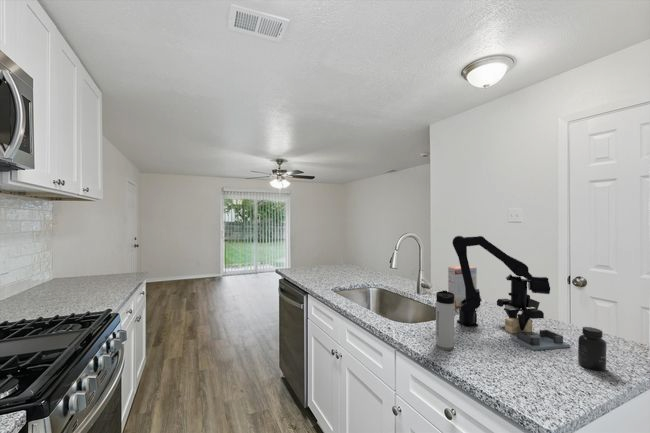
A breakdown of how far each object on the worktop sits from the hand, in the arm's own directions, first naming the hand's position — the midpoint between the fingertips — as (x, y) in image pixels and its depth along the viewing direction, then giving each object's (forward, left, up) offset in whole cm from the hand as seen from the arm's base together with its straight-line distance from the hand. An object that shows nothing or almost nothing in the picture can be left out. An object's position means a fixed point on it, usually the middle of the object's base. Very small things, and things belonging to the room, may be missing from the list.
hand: (518, 328), depth 127 cm
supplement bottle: (-1, -30, -1) cm, 30 cm away
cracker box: (-1, +36, -1) cm, 36 cm away
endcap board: (-2, -12, -1) cm, 12 cm away
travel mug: (-40, -9, -1) cm, 41 cm away
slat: (0, 0, -1) cm, 1 cm away
